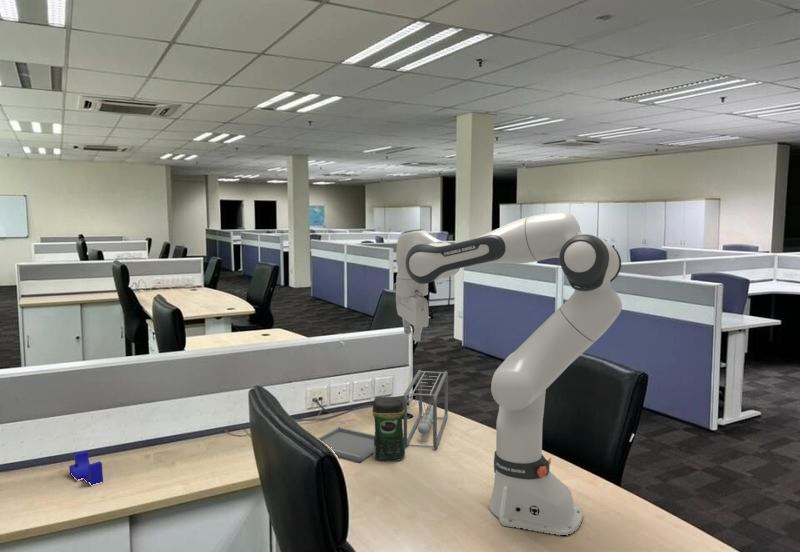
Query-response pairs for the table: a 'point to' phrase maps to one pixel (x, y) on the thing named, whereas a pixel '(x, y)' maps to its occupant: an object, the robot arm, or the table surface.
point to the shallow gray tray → (350, 444)
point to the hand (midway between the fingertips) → (412, 337)
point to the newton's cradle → (430, 412)
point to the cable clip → (86, 469)
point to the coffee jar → (388, 428)
